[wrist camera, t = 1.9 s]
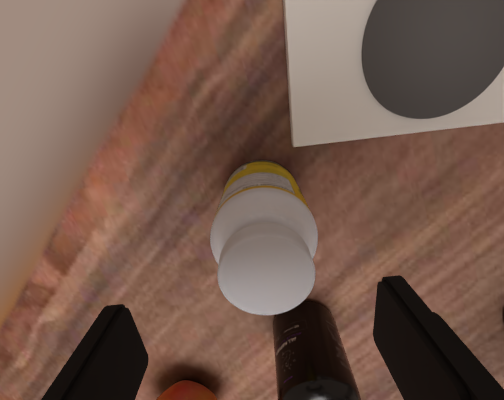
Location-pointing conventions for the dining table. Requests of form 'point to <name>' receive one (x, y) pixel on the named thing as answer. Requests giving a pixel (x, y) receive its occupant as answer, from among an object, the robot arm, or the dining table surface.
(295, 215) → the pill bottle
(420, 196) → the dining table surface
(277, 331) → the supplement bottle
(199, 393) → the apple
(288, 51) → the board
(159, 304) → the dining table surface
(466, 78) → the pad
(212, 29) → the dining table surface
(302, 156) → the dining table surface
